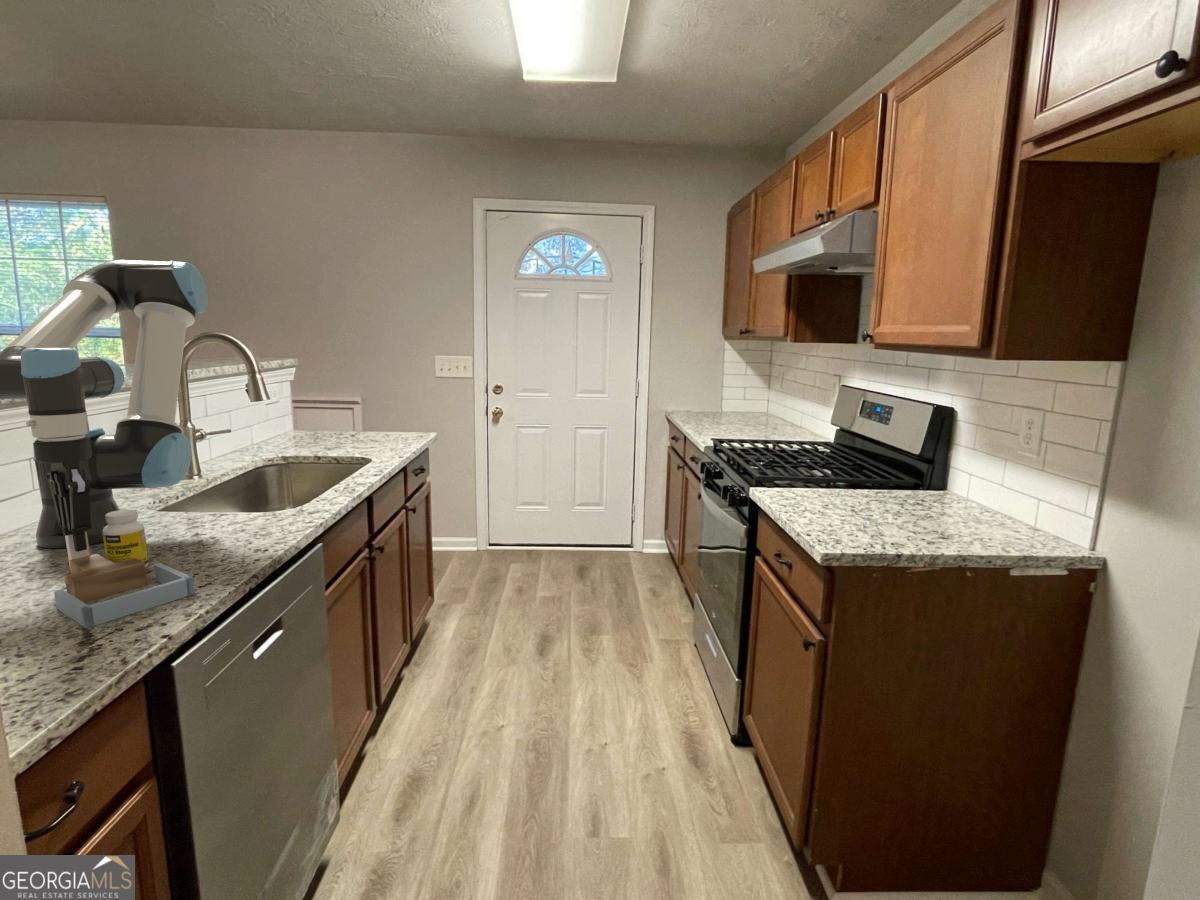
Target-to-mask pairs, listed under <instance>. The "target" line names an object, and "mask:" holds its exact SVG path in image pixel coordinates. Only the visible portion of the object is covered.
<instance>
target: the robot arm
mask: <svg viewBox="0 0 1200 900" xmlns="http://www.w3.org/2000/svg"><path fill="white" fill-rule="evenodd" d="M208 306H209V297H208V291H207V287H206V284H205V281H204V279H203V277H202V275H201V273H200V271H199V270H198V268H197V267H196V266H194V264H192V263H190V262H186V261H175V260H169V261H167V260H166V261H161V260H160V261H159V260H135V259H133V260H131V259H115V260H110V261H106V262H103V263H101V264H97V265H94V266H93V267H91V268H88V269H87V270H85V271H83V272H81V273H80V274H78V275H77V276H76V277H74V278H73V279H71V280H70V281H69V282H68V283H67V284H66V285H65V286H64V288H63V290H62V296H61V297H60V298H59V299H58V300H57V301H55V303H53V304H52V305H51V306H50V307H49V308H47V310H46V311H45V312H43V313H42V314H41V315H40V316H39V317H38V318H37V319H35V320H34V321H33V322H32V323H31V324H30V325H29V326H28V327H27V328H25V329H24V330H23V331H22V332H21V333H20V334H19V335H18V336H17V337H15V338H14V340H12V341H11V342H10V343H9V344H8V345H7V346H6V347H4V349H2V351H0V400H1V401H5V400H26V402H27V403H26V404H27V407H28V409H27V410H28V416H29V419H30V420H27V421H25V425H26V427H29V428H31V434H32V437H33V438H35V440H34V441H33V443H32V444H33V445H32V446H33V447H32V448H33V461H34V465H35V471H36V476H37V481H38V482H37V483H38V487H39V492H40V493H39V495H40V498H41V504H42V505H41V507H42V508H41V512H40V516H39V520H38V524H37V528H36V532H35V539H36V545H37V546H38V547H40V548H43V549H44V548H46V549H66V551H67V557H68V558H67V559H68V563H69V564H68V565H69V567H70V561H69V560H73V559H77V558H81V557H85V556H89V555H91V553H90V545H95V544H99V543H104V540H103V529H104V527H106V526H107V525H108V523H107V522H106V517H105V515H106V514H107V513H110V512H113V511H118V510H121V509H120V507H119V505H118V504H117V502H116V500H115V499H114V494H113V490H123V489H124V490H126V489H127V490H128V489H152V490H153V489H159V488H165V487H166V488H168V487H172V486H176V485H177V484H179V483H180V482H181V481H182V480H183V479H184V478H185V476H186V475H187V473H188V470H189V468H190V465H191V461H192V450H191V442H190V440H189V438H188V437H187V435H185V434H184V433H183V428H181V427H180V425H178V424H177V423H176V415H177V407H178V399H179V392H180V390H179V389H180V383H181V382H180V381H181V373H182V366H183V357H184V349H185V348H184V347H185V340H186V332H187V328H189V327H191V326H193V325H194V324H195V321H196V314H202V313H206V311H207V309H208ZM123 312H124V313H125V312H126V313H127V312H134V314H135V316H136V317H137V318H138V319H140V324H139V331H138V336H137V337H138V338H137V344H136V350H135V358H134V366H133V371H132V372H133V374H132V379H131V386H130V394H129V401H128V407H127V413H126V417H124V418H122V419H120V420H118V421H117V424H116V429H115V434H106V431H105V430H104V428H102V427H100V426H99V427H90V426H89V425H90V424H89V419H88V412H87V409H86V401H85V400H88V399H96V398H97V399H98V398H100V399H102V398H105V397H108V396H111V395H115V394H116V393H118V392H119V391H120V390H121V389H122V387H123V386H124V383H125V373H124V371H123V369H122V368H121V366H120V365H119V364H118V363H117V362H115V361H114V360H112V359H109V358H106V357H100V356H88V357H79V353H78V351H77V350H76V349H75V348H76V346H77V345H78V344H79V343H81V341H82V340H83V339H85V337H86V336H87V335H88V334H89V333H90V332H91V330H92V329H94V328H95V327H96V326H97V324H99V322H101V321H105V320H108V319H110V318H111V317H113V316H114V315H115V314H117V313H118V314H119V313H123Z"/></svg>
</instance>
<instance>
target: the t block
mask: <svg viewBox="0 0 1200 900" xmlns="http://www.w3.org/2000/svg"><path fill="white" fill-rule="evenodd" d="M69 561H70V566H69V569H70V572H71V573H69V574H66V575H64V580H65V581H64V582H65V588H66V592H68V593H69V594H71V595H72V596H74V597H76V598H77V599H79V600H81V601H82V602H84V603H85V602H90V601H94V600H98V599H101V598H103V597H106V596H107V597H108V596H111V595H114V594H118V593H122V592H125V591H128V590H131V589H132V590H133V589H135V588H138V587H142V586H146V585H148V579H147V571H146V568H145V563H144V562H142V561H140V560H138V559H136V558H133V559H129V560H125V561H121V562H117V563H114V562H112V561H110V560H108V559H106V557H104V556H102V555H100V554H99V553H95V554H90V555H89V556H85V557H81V558H77V559H73V560H69V559H68V562H69Z"/></svg>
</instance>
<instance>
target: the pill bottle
mask: <svg viewBox="0 0 1200 900" xmlns="http://www.w3.org/2000/svg"><path fill="white" fill-rule="evenodd" d="M105 517H106V522H107V523H108V525H107V526H106V527H104V529H103V540H104V542H103V545H104V546H103V548H104V554H105V555H104V556H105V558H106V559H108V560H110V561H112V562H114V563H117V562H121V561H125V560H129V559H133V558H136V559H138V560H140V561H142V562H144V563H145V569H146V568H147V567H148V566H149V556H148V549H147V540H146V532H145V526H144V523H142V522H141V521H139V520H138V519H139V518H138V517H139V515H138V511H137V510H136V509H120V510H118V511H113V512H110V513H107V514H106V515H105Z"/></svg>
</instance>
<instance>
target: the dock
mask: <svg viewBox="0 0 1200 900" xmlns="http://www.w3.org/2000/svg"><path fill="white" fill-rule="evenodd" d="M153 569H154V575H155V576H154V577H155V581H157V582H158V583H161V584H158V585H154V586H151V587H149V588H145V589H141V590H137V591H134V592H131V593H127V594H125V595H121V596H117V597H113V598H110V599H106V600H103V601H100V602H97V603H93V604H90V605H88V604H87V603H85V602H82V601H81V600H79V599H77V598H76V597H74V596H72V595H71V594H69V593H68V592H67V590H64V589H63V588H62V589H61V588H60V589H58V590H54V591H53V594H54V599H55V605H56V609H57V610H59V611H60V612H61V613H63V614H64V615H66V616H67V617H69V618H71V619H72V620H74V621H75V622H76V623H78V624H80V625H81V626H82V627H84V628H85V629H88V628H91V627H94V626H97V625H101V624H104V623H107V622H111V621H113V620H117V619H119V618H123V617H126V616H129V615H132V614H135V613H138V612H139V613H140V612H141V611H145V610H147V609H151V608H154V607H159V606H161V605H164V604H168V603H170V602H172V601H173V602H174V601H177V600H180V599H183V598H186V597H189V596H193V595H195V586H194V578H193V577H192V576H190V575H189V574H186V573H184V572H181V571H180V570H177V569H175V568H172V567H171V566H168V565H165V564H163V563H162V562H157V563H154V564H153Z"/></svg>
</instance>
